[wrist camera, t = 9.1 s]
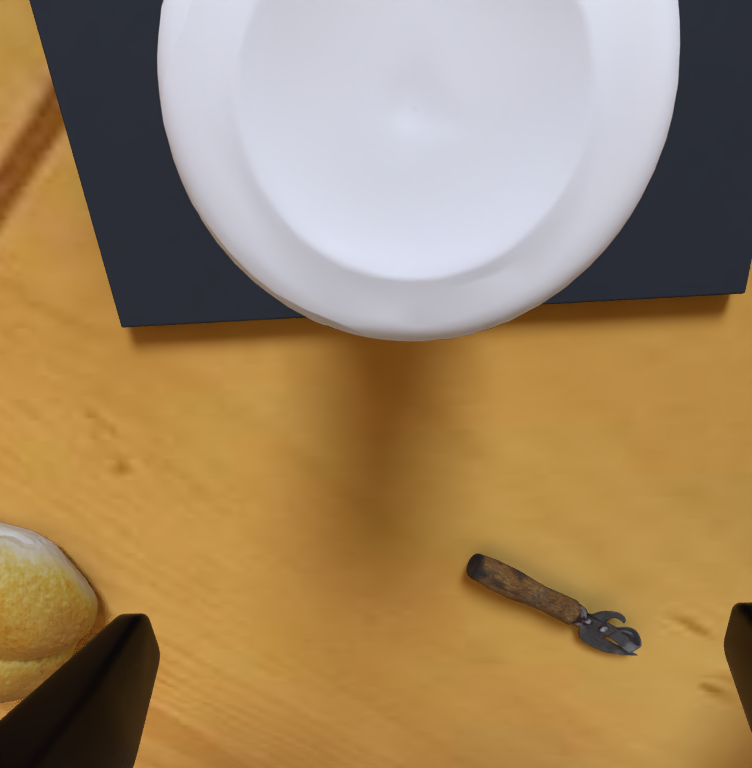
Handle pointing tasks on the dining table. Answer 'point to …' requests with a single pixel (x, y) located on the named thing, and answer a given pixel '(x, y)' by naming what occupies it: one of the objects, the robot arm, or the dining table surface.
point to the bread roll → (38, 610)
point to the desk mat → (250, 302)
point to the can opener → (554, 605)
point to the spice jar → (416, 147)
